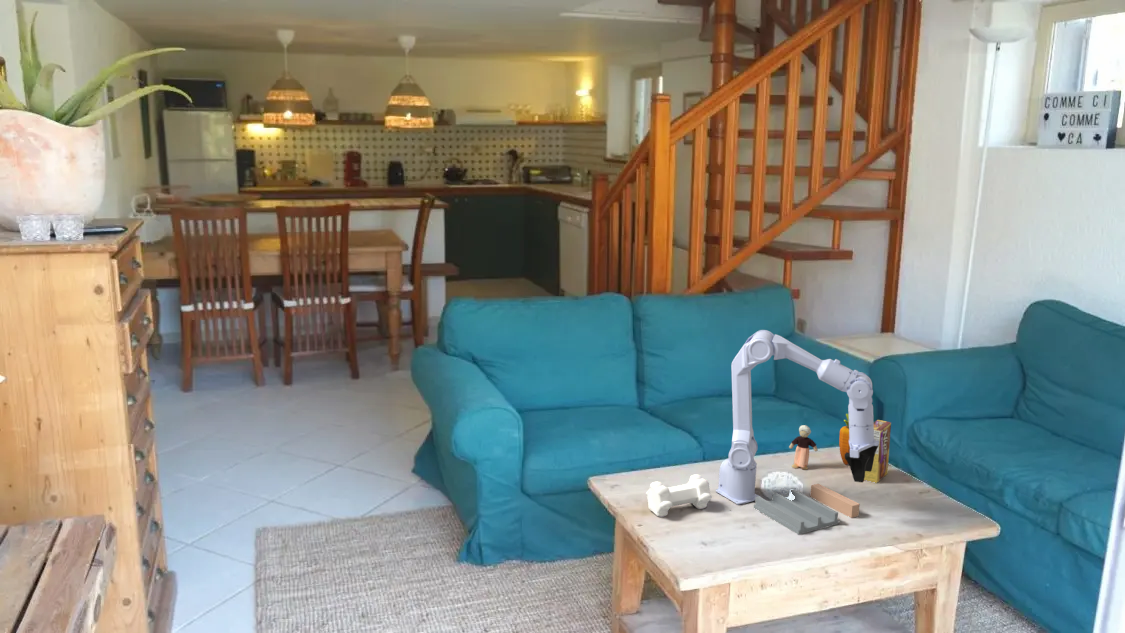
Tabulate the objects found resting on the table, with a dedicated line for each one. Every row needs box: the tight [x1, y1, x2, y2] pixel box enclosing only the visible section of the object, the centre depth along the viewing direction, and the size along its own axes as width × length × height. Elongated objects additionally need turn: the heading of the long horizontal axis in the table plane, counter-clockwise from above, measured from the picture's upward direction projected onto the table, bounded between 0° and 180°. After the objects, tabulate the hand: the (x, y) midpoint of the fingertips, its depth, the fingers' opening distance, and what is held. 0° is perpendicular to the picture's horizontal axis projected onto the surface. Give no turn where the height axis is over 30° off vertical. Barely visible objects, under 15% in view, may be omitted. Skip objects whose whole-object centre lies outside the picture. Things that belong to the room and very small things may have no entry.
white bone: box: [645, 473, 713, 518], centre depth 214 cm, size 15×9×8 cm, turn 115°
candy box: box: [864, 419, 892, 484], centre depth 236 cm, size 9×4×15 cm, turn 141°
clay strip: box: [809, 483, 861, 519], centre depth 218 cm, size 14×2×4 cm, turn 28°
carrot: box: [838, 413, 850, 466], centre depth 244 cm, size 5×5×15 cm
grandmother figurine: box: [788, 424, 818, 471], centre depth 242 cm, size 8×4×13 cm, turn 81°
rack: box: [753, 489, 840, 535], centre depth 212 cm, size 16×13×3 cm
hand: (863, 476), depth 211 cm, fingers open, 7 cm apart
